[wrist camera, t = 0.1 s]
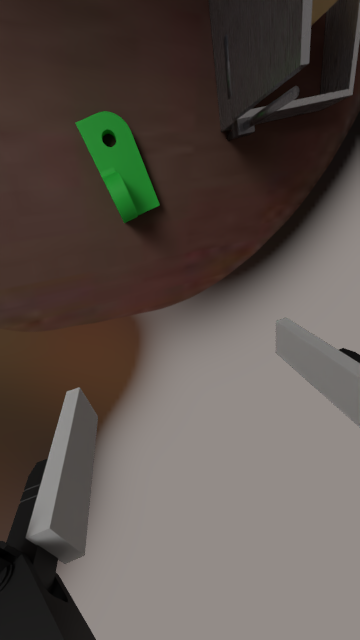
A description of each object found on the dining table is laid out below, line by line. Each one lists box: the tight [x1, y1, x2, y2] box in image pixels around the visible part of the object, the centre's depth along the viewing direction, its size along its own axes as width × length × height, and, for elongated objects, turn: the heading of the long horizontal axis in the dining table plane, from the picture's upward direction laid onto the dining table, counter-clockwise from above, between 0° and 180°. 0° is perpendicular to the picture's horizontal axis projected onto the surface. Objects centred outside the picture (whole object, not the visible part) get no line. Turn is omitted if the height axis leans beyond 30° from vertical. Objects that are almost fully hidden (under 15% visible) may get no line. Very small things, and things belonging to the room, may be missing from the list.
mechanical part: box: [76, 111, 160, 223], centre depth 28 cm, size 12×6×8 cm, turn 22°
